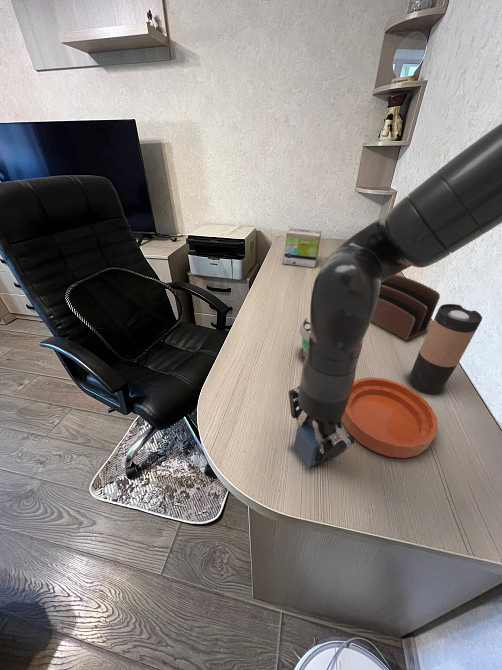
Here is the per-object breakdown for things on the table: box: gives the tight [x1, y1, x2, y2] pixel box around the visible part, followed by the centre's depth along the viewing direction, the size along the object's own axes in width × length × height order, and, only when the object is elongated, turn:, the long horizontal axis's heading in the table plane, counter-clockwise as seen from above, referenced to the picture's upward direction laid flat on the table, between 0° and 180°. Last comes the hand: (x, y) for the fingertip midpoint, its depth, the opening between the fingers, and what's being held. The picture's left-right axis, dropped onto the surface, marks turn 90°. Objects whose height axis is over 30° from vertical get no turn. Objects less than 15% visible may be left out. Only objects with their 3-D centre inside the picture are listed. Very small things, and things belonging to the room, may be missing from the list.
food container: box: [299, 317, 311, 362], centre depth 71 cm, size 12×6×10 cm, turn 47°
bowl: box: [341, 377, 439, 459], centre depth 57 cm, size 18×18×4 cm
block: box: [293, 423, 326, 469], centre depth 51 cm, size 4×4×6 cm
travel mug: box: [408, 303, 483, 395], centre depth 62 cm, size 8×8×20 cm
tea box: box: [283, 227, 322, 268], centre depth 131 cm, size 15×10×15 cm, turn 73°
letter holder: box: [370, 274, 441, 342], centre depth 87 cm, size 10×20×14 cm, turn 31°
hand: (311, 448), depth 52 cm, fingers closed on block, 4 cm apart
